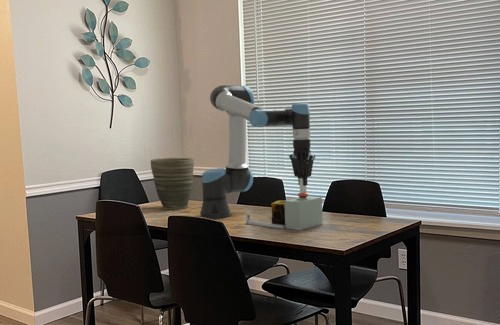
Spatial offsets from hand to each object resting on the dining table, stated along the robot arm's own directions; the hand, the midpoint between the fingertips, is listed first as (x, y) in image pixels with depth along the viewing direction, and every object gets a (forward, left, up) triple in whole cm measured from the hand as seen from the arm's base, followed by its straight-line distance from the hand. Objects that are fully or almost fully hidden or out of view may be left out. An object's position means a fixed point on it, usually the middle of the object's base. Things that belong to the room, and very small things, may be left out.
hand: (303, 192), depth 247 cm
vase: (-93, +2, -15) cm, 94 cm away
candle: (-11, 0, -15) cm, 19 cm away
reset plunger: (0, 0, -8) cm, 8 cm away
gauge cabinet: (0, 0, -15) cm, 15 cm away
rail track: (-15, 0, -15) cm, 21 cm away
